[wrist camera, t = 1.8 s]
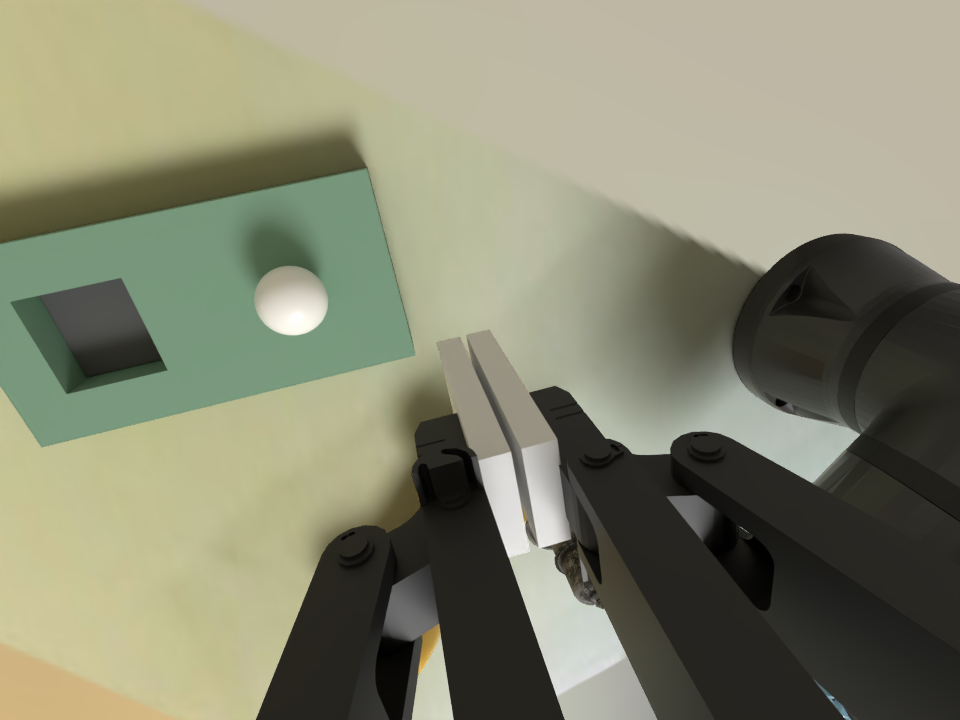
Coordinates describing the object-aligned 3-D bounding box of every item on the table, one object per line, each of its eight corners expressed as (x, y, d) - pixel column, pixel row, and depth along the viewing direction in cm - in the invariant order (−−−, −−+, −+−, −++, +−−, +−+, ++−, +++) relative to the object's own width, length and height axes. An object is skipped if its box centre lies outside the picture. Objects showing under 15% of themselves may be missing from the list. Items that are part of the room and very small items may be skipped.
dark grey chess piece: (574, 458, 43) (641, 564, 32) (581, 510, 46) (646, 624, 35) (509, 477, 43) (555, 591, 32) (520, 528, 45) (566, 650, 34)
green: (367, 167, 31) (366, 169, 29) (412, 342, 36) (415, 355, 34) (-48, 252, 29) (-84, 261, 26) (64, 426, 34) (41, 447, 31)
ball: (319, 252, 30) (311, 267, 26) (338, 314, 32) (334, 336, 28) (252, 267, 30) (234, 284, 26) (275, 329, 31) (262, 353, 28)
